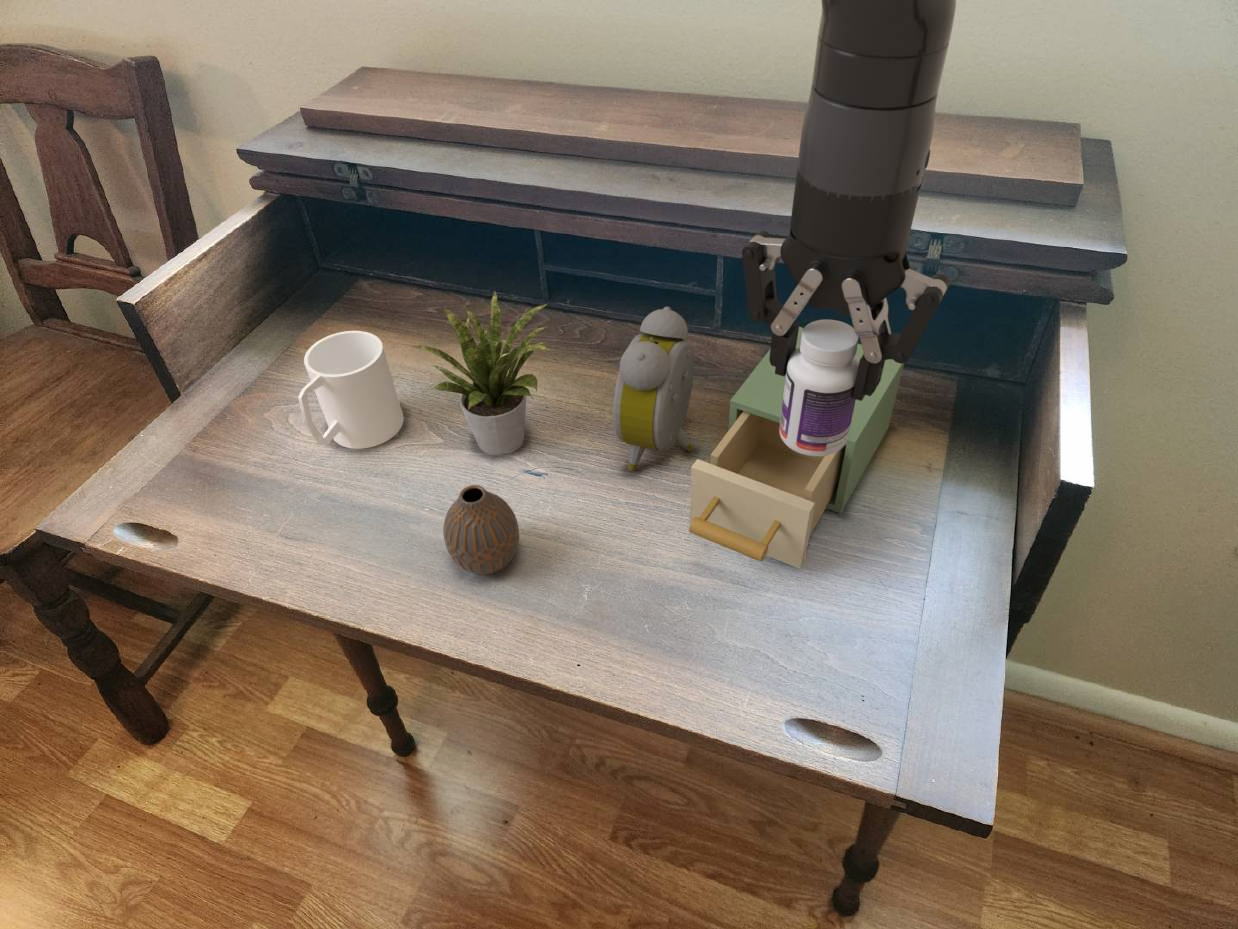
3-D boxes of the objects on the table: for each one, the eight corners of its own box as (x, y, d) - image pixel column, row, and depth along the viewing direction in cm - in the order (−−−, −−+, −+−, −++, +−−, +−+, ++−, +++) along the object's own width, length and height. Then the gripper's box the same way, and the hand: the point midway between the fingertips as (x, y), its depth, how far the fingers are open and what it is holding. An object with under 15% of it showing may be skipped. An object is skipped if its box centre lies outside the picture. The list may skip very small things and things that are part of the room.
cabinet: (840, 514, 82) (856, 442, 75) (725, 470, 87) (730, 400, 80) (888, 428, 91) (905, 356, 84) (781, 393, 96) (789, 323, 89)
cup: (293, 460, 91) (262, 388, 84) (359, 395, 99) (336, 324, 92) (354, 479, 88) (327, 406, 81) (417, 410, 96) (397, 339, 89)
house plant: (596, 413, 94) (587, 289, 83) (545, 496, 85) (526, 369, 74) (486, 388, 99) (462, 267, 87) (425, 465, 89) (390, 340, 78)
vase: (498, 519, 83) (484, 456, 77) (537, 560, 79) (526, 496, 73) (438, 554, 80) (419, 491, 74) (475, 598, 76) (458, 535, 70)
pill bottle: (861, 436, 66) (884, 334, 59) (818, 468, 63) (837, 367, 57) (807, 404, 69) (823, 304, 62) (764, 434, 66) (776, 334, 59)
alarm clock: (650, 406, 95) (647, 293, 85) (707, 418, 93) (712, 303, 83) (614, 474, 87) (606, 359, 77) (676, 488, 85) (677, 372, 75)
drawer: (780, 604, 73) (788, 547, 68) (667, 555, 78) (666, 498, 72) (851, 478, 84) (864, 420, 79) (748, 441, 89) (753, 384, 83)
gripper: (726, 164, 51) (713, 381, 63) (965, 215, 45) (901, 442, 57) (774, 120, 56) (754, 330, 67) (996, 162, 50) (932, 382, 62)
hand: (822, 380), depth 62 cm, fingers closed on pill bottle, 5 cm apart
